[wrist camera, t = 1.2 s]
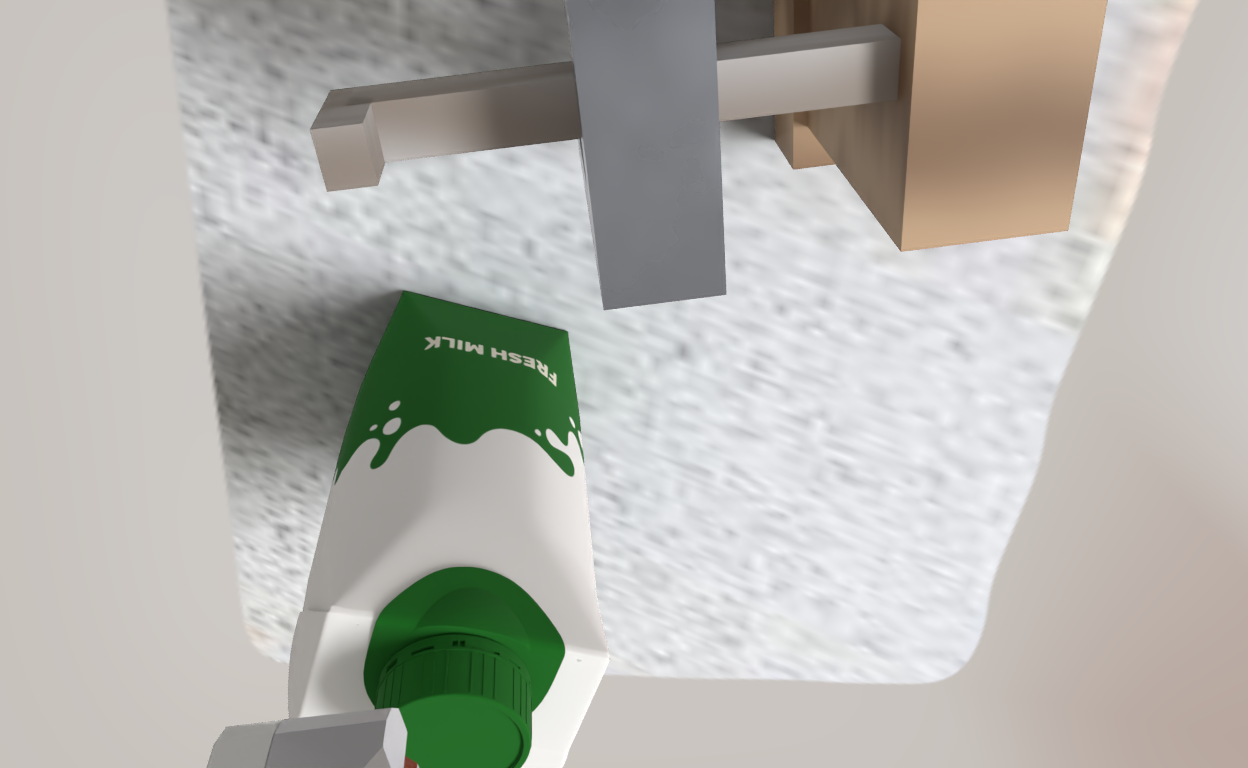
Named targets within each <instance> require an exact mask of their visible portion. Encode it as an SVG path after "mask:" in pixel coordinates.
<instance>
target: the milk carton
mask: <svg viewBox="0 0 1248 768" xmlns="http://www.w3.org/2000/svg"><path fill="white" fill-rule="evenodd" d="M609 661H610V658H609V649H608V645H607V641H606V637H605V633H604V629H603V624H602V620H601V615H600V610H599V605H598V600H597V593H596V584H595V573H594V562H593V552H592V541H591V531H590V520H589V510H588V499H587V489H586V478H585V468H584V457H583V447H582V437H581V426H580V416H579V409H578V401H577V394H576V387H575V380H574V373H573V366H572V359H571V352H570V345H569V337H568V332H567V331H563V330H559V329H555V328H551V327H547V326H543V325H539V324H535V323H531V322H527V321H523V320H519V319H515V318H511V317H507V316H503V315H499V314H495V313H491V312H487V311H483V310H479V309H475V308H471V307H467V306H463V305H459V304H455V303H451V302H447V301H443V300H439V299H435V298H431V297H427V296H424V295H420V294H416V293H412V292H408V291H403V293H402V296H401V298H400V300H399V302H398V305H397V307H396V309H395V311H394V313H393V315H392V317H391V320H390V322H389V324H388V326H387V328H386V330H385V333H384V335H383V337H382V339H381V341H380V343H379V346H378V348H377V350H376V352H375V354H374V357H373V359H372V361H371V363H370V366H369V368H368V370H367V373H366V375H365V378H364V380H363V382H362V385H361V388H360V390H359V393H358V396H357V399H356V402H355V405H354V408H353V411H352V414H351V417H350V420H349V424H348V427H347V430H346V433H345V436H344V440H343V443H342V447H341V450H340V454H339V458H338V462H337V466H336V470H335V474H334V478H333V482H332V486H331V490H330V494H329V498H328V502H327V506H326V510H325V514H324V518H323V522H322V526H321V531H320V535H319V539H318V543H317V547H316V551H315V555H314V559H313V563H312V567H311V571H310V575H309V580H308V585H307V590H306V596H305V602H304V607H303V612H300V614H299V617H298V621H297V625H296V629H295V633H294V637H293V642H292V648H291V655H290V665H289V680H288V709H289V719H293V718H302V717H311V716H320V715H330V714H339V713H348V712H357V711H367V710H376V709H385V708H399V711H400V713H401V716H402V719H403V721H404V724H405V727H406V729H407V741H406V750H405V756H406V757H408V758H409V759H411V760H413V761H414V762H416V763H418V766H419V768H562V767H563V765H564V763H565V761H566V758H567V755H568V752H569V748H570V746H571V744H572V742H573V740H574V738H575V735H576V733H577V731H578V729H579V727H580V724H581V722H582V720H583V718H584V716H585V714H586V711H587V709H588V707H589V704H590V703H591V700H592V698H593V696H594V694H595V692H596V689H597V687H598V685H599V683H600V681H601V678H602V676H603V674H604V672H605V670H606V667H607V665H608V663H609Z"/></svg>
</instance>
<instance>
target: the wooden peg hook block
mask: <svg viewBox="0 0 1248 768" xmlns="http://www.w3.org/2000/svg"><path fill="white" fill-rule="evenodd" d="M1107 1H1108V0H774V37H769V38H760V39H752V40H744V41H735V42H727V43H719V44H716V51H717V76H718V101H719V122H720V121H728V120H737V119H745V118H753V117H761V116H769V115H775V142H776V143H777V145H778V146H779V148H780V150H781V151H782V153H783V154H784V156H785V157H786V159H787V160H788V162H789V164H790V165H791V167H792V168H793V169H801V168H809V167H817V166H826V165H834V164H836V166H837V167H838V168H839V170H840V171H841V172H842V174H843V175H844V176H845V178H846V179H847V180H848V182H849V183H850V184H851V186H852V187H853V188H854V190H855V191H856V192H857V194H858V195H859V196H860V198H861V199H862V200H863V202H864V203H865V204H866V206H867V207H868V208H869V210H870V211H871V212H872V214H873V215H874V216H875V218H876V219H877V220H878V222H879V223H880V224H881V226H882V227H883V228H884V230H885V231H886V232H887V234H888V235H889V236H890V238H891V239H892V240H893V242H894V243H895V244H896V246H897V247H898V248H899V250H900V251H901V252H903V251H911V250H919V249H927V248H935V247H942V246H950V245H958V244H966V243H974V242H982V241H990V240H998V239H1006V238H1014V237H1021V236H1029V235H1037V234H1045V233H1053V232H1061V231H1068V229H1069V223H1070V217H1071V211H1072V205H1073V200H1074V194H1075V188H1076V182H1077V176H1078V170H1079V164H1080V159H1081V153H1082V147H1083V141H1084V135H1085V129H1086V123H1087V118H1088V112H1089V106H1090V100H1091V94H1092V88H1093V83H1094V77H1095V71H1096V65H1097V59H1098V53H1099V47H1100V42H1101V36H1102V30H1103V24H1104V18H1105V12H1106V6H1107ZM310 132H311V136H312V139H313V143H314V146H315V150H316V154H317V157H318V161H319V164H320V168H321V172H322V175H323V179H324V183H325V186H326V190H327V192H329V191H337V190H346V189H354V188H362V187H370V186H378V184H379V181H380V177H381V174H382V171H383V168H384V164H385V163H386V162H394V161H402V160H410V159H418V158H427V157H435V156H443V155H451V154H459V153H467V152H475V151H484V150H492V149H500V148H508V147H516V146H524V145H533V144H541V143H549V142H557V141H565V140H573V139H581V133H580V124H579V116H578V108H577V99H576V91H575V83H574V75H573V66H572V61H569V62H561V63H553V64H545V65H536V66H528V67H520V68H511V69H503V70H495V71H487V72H478V73H470V74H462V75H453V76H445V77H437V78H428V79H420V80H412V81H404V82H395V83H387V84H379V85H370V86H362V87H354V88H346V89H337V90H330V92H329V94H328V96H327V98H326V100H325V102H324V104H323V106H322V108H321V110H320V111H319V113H318V115H317V117H316V119H315V121H314V123H313V125H312V127H311V129H310Z"/></svg>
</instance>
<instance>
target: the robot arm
mask: <svg viewBox="0 0 1248 768" xmlns="http://www.w3.org/2000/svg"><path fill="white" fill-rule="evenodd" d="M406 741H407V729H406V727H405V724H404V721H403V719H402V716H401V713H400V711H399V708H385V709H376V710H367V711H357V712H348V713H339V714H330V715H320V716H311V717H302V718H293V719H284V720H279V721H270V722H262V723H254V724H246V725H237V726H229V727H226V728H225V730H224V731H223V732H222V734H221V735H220V737H219V738H218V740H217V741H216V742H215V744H214V746H213V749H212V752H211V755H210V758H209V762H208V765H207V768H419V766H418V763H416V762H414V761H413V760H411V759H409V758H408V757H406V756H405V750H406Z"/></svg>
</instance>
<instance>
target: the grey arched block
mask: <svg viewBox="0 0 1248 768" xmlns="http://www.w3.org/2000/svg"><path fill="white" fill-rule="evenodd" d="M564 6H565V11H566V17H567V25H568V33H569V42H570V50H571V58H572V66H573V75H574V83H575V91H576V99H577V108H578V116H579V124H580V133H581V139H578V145H579V152H580V159H581V165H582V172H583V178H584V185H585V191H586V198H587V204H588V211H589V217H590V224H591V230H592V237H593V243H594V250H595V256H596V263H597V269H598V276H599V282H600V289H601V295H602V302H603V308H604V310H609V309H617V308H625V307H633V306H641V305H649V304H656V303H664V302H672V301H680V300H688V299H696V298H704V297H712V296H719V295H726V274H725V249H724V224H723V200H722V175H721V150H720V125H719V101H718V76H717V51H716V26H715V1H714V0H564Z"/></svg>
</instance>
